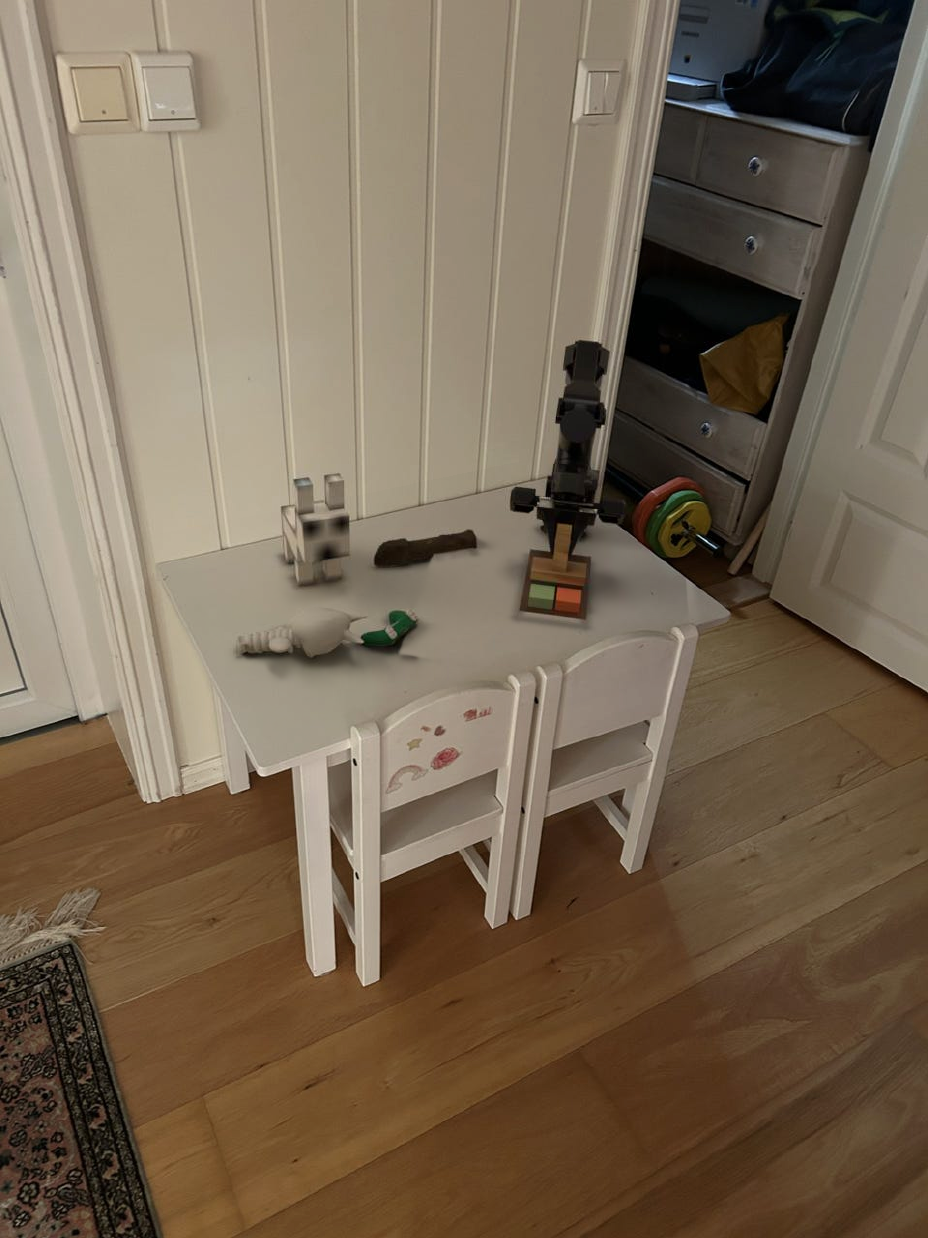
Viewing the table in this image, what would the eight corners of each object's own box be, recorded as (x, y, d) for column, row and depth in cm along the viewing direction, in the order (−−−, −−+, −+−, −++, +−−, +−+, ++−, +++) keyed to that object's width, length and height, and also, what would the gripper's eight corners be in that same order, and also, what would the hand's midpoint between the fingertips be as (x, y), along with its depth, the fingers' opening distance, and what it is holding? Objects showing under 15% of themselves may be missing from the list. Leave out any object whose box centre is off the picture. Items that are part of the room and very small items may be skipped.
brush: (530, 577, 159) (537, 518, 153) (583, 584, 159) (592, 525, 152) (528, 591, 156) (535, 531, 149) (582, 598, 155) (591, 538, 148)
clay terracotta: (556, 596, 156) (557, 586, 155) (580, 599, 155) (581, 589, 154) (554, 610, 153) (555, 600, 151) (578, 613, 152) (580, 603, 151)
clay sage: (530, 593, 156) (531, 583, 155) (553, 596, 156) (555, 586, 155) (527, 606, 153) (529, 596, 152) (552, 609, 153) (553, 599, 151)
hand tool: (469, 544, 171) (470, 522, 168) (477, 555, 168) (478, 532, 165) (370, 559, 165) (369, 537, 162) (376, 571, 162) (376, 548, 159)
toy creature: (240, 608, 145) (367, 592, 145) (249, 652, 147) (374, 637, 147) (223, 631, 133) (362, 614, 133) (233, 679, 135) (370, 662, 135)
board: (529, 555, 169) (530, 548, 168) (589, 563, 168) (591, 556, 167) (518, 618, 153) (519, 610, 152) (585, 627, 152) (586, 619, 151)
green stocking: (369, 659, 145) (392, 647, 140) (355, 638, 144) (378, 626, 140) (403, 630, 151) (426, 618, 147) (390, 611, 151) (413, 598, 146)
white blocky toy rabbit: (321, 542, 169) (317, 440, 157) (350, 594, 156) (348, 487, 144) (280, 549, 166) (273, 445, 154) (306, 602, 153) (301, 493, 141)
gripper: (516, 441, 147) (502, 535, 145) (634, 454, 146) (622, 550, 143) (517, 464, 158) (504, 553, 156) (626, 477, 157) (616, 567, 154)
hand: (560, 555), depth 152 cm, fingers closed on brush, 2 cm apart
